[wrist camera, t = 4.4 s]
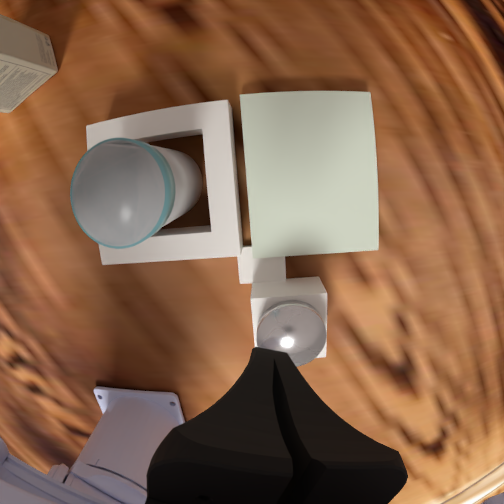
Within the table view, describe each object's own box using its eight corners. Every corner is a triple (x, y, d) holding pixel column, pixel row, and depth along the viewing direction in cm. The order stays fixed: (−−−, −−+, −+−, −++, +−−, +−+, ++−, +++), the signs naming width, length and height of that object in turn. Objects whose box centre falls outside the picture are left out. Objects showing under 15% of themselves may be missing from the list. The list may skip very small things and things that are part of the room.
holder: (318, 334, 22) (325, 357, 19) (136, 340, 23) (122, 361, 20) (309, 103, 18) (316, 92, 15) (104, 129, 19) (82, 125, 16)
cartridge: (207, 215, 20) (173, 244, 12) (140, 222, 20) (78, 252, 13) (201, 143, 19) (162, 128, 11) (133, 153, 19) (65, 149, 12)
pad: (373, 246, 20) (378, 249, 19) (253, 254, 21) (252, 258, 20) (365, 95, 18) (370, 92, 17) (240, 98, 18) (239, 94, 17)
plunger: (317, 335, 21) (325, 364, 18) (259, 339, 22) (259, 369, 18) (317, 281, 20) (327, 304, 17) (255, 286, 21) (253, 309, 17)
